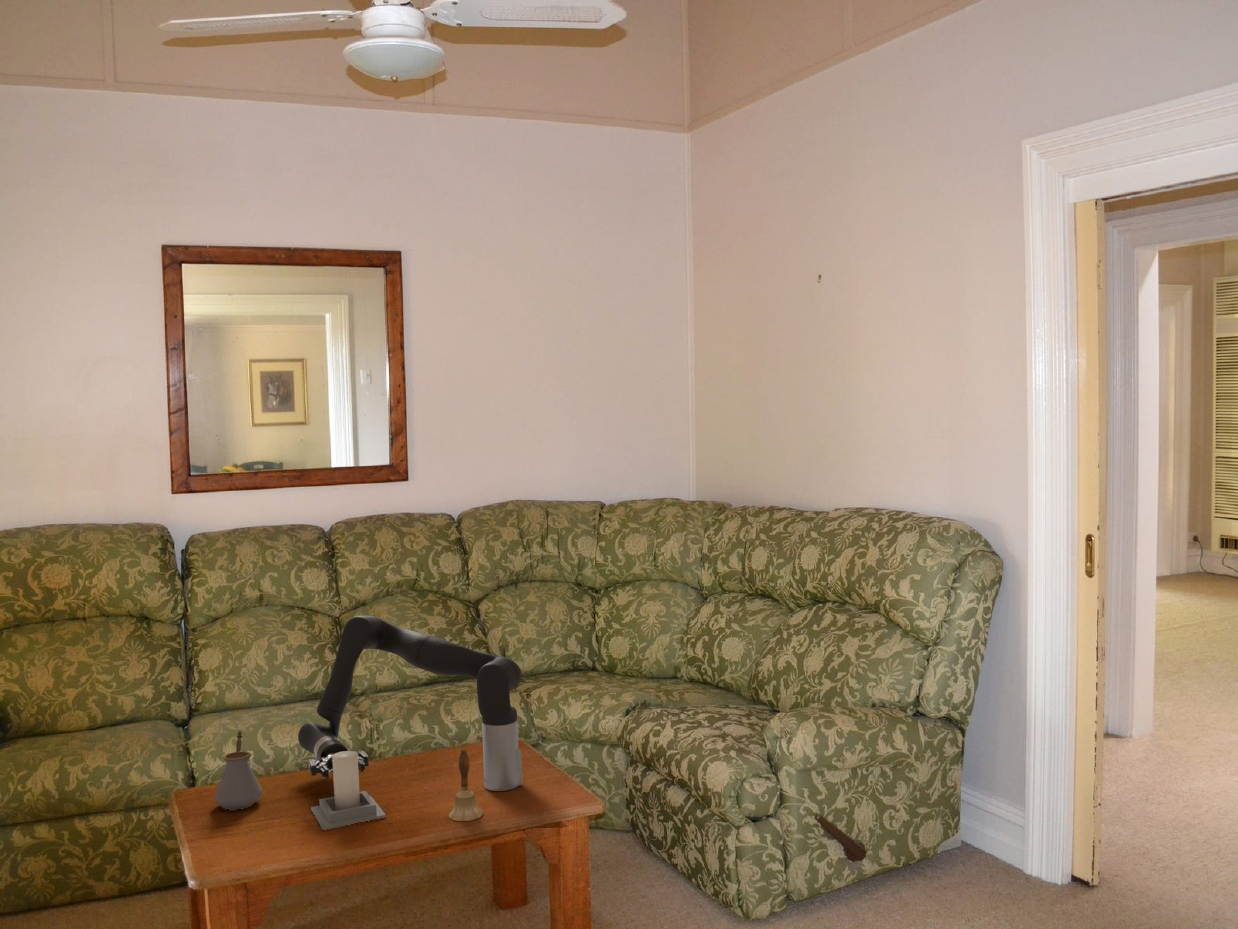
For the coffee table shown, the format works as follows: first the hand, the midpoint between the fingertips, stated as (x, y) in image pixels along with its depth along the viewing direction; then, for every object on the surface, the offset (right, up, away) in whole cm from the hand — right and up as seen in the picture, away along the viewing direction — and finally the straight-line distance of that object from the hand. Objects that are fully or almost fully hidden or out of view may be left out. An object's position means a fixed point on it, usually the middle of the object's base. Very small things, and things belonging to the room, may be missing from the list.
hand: (344, 771), depth 260 cm
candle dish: (+1, -10, -1) cm, 10 cm away
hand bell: (+31, -10, -4) cm, 32 cm away
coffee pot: (-30, -11, +12) cm, 35 cm away
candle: (+1, -10, -1) cm, 10 cm away
